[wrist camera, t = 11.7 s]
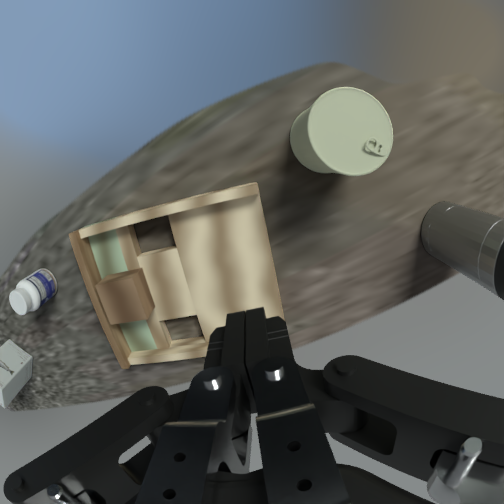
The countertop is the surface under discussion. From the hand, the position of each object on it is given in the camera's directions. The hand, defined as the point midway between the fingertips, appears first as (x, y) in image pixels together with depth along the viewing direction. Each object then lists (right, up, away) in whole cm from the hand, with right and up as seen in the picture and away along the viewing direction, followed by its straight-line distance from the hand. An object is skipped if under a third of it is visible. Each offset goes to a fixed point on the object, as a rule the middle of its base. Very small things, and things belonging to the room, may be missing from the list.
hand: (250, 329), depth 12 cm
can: (+10, +18, +25) cm, 33 cm away
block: (-17, -2, +29) cm, 34 cm away
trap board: (-10, -1, +30) cm, 32 cm away
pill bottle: (-35, -2, +30) cm, 46 cm away
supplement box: (-51, -20, +35) cm, 65 cm away
